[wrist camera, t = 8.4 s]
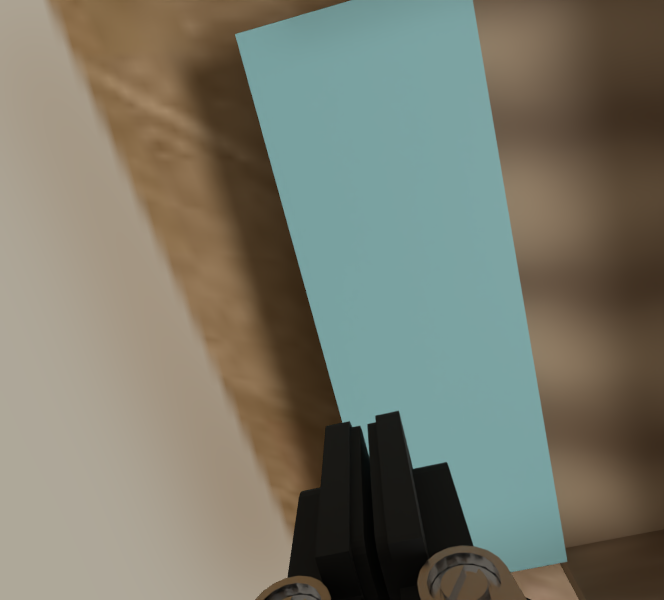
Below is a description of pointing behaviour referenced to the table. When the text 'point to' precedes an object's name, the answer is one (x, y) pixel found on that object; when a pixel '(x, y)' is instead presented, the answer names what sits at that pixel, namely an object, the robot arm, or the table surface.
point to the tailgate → (411, 247)
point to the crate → (590, 264)
